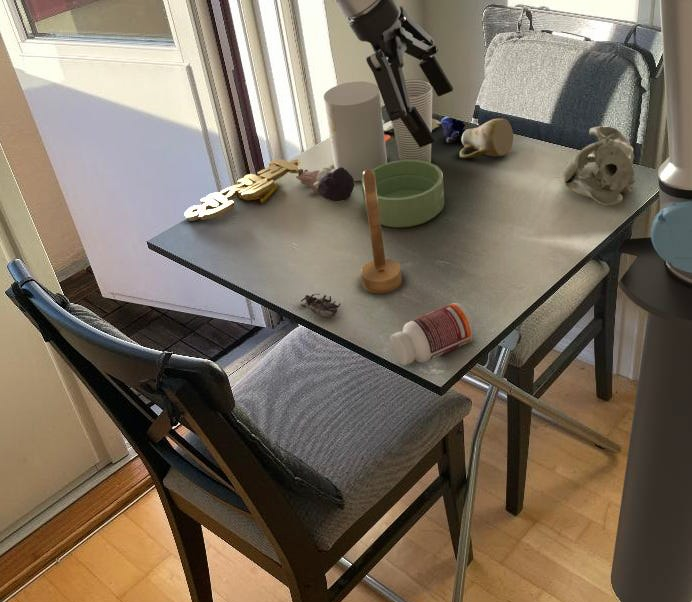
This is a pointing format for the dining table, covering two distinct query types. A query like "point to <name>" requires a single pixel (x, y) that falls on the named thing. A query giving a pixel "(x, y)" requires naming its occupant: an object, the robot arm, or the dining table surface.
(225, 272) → the dining table surface
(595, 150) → the animal skull
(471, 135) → the mug
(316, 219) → the dining table surface
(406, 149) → the cup
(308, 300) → the beetle
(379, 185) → the bowl
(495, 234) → the dining table surface
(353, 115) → the white cylinder
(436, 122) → the stone fragment
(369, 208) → the wooden peg stand
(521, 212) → the dining table surface
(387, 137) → the candy hearts
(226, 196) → the lettering
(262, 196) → the logo
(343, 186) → the figurine
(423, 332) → the pill bottle
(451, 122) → the spaceship
